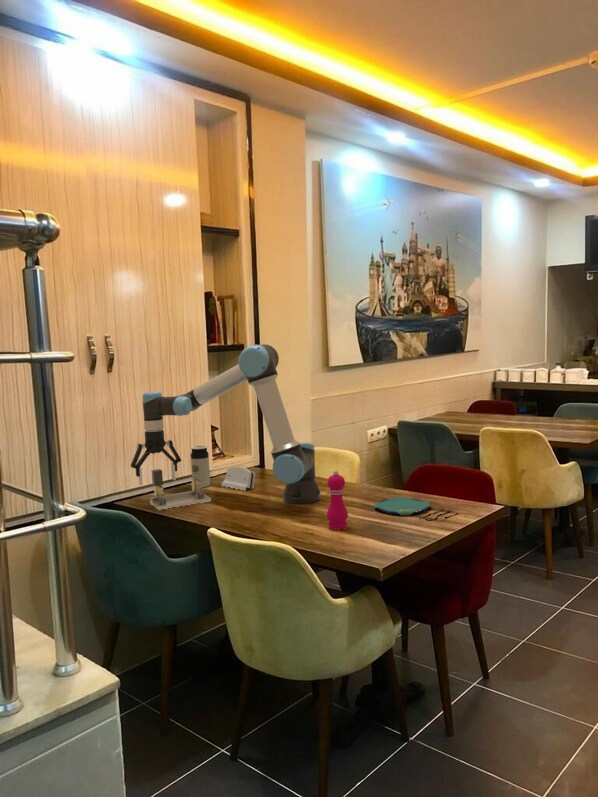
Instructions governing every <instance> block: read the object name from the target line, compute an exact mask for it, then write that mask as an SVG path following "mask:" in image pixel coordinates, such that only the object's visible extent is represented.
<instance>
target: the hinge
mask: <svg viewBox="0 0 598 797" xmlns="http://www.w3.org/2000/svg"><path fill="white" fill-rule="evenodd" d="M255 480H256V473H255V472H254V471H253V470H251V469H249V468H247V467H243V466H232V467H229V468H228V469H227V470H226V475H225V478H224V480H223V481H222V482H221V487H224V486H225V487H224V488H228V487H230V488H229V489H233V488H235V489H234V490H238V489H240V490H239V491H243V490H244V492H245V491H247V489H252V490H254V489H253V488H255Z"/></svg>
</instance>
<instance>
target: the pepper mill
mask: <svg viewBox="0 0 598 797" xmlns="http://www.w3.org/2000/svg"><path fill="white" fill-rule="evenodd" d="M332 474H333V475H330V476H329V477H328V478H327V483H326V484H327V487H328V488H329V489H328V491H329V492H328V493H329V494H330V503H329V506H328V508H327V510H326V519H328V521H329V522H328V528H330V530H331V529H336V530H335V531H339V530H338V529H343V530H345V529H344V528H346V527H347V528H348V524H347V523H348V522H347V521H346V520H347V519H348V518H349V515H348V509H347V507H346V505H345V504H344V499H343V494H344V493H345V489H344V487H345V485H346V481H345V478H344V476H342V475H341V474H339V471H338V470H336V469H334V471H333V473H332ZM347 528H346V529H347Z"/></svg>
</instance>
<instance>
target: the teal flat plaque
mask: <svg viewBox="0 0 598 797" xmlns="http://www.w3.org/2000/svg"><path fill="white" fill-rule="evenodd" d="M430 506H431V507H432V505H431V503H430V502H429V501H425V500H422V499H419V498H418V499H417V498H412V497H407V496H406V497H404V496H402V497H399V496H398V497H396V496H395V497H391V498H390V497H389V498H386V499H382V500H380V501H377V502H375V503H374V505H373V508H374V510H376V509H378V510H379V511H380V512H384V513H387V514H388V513H389V514H395V515H399V516H402V515H401V514H411V515H412V514H413V513H414V514H418V513H422V511H423V512H425V511H427V510H428V509H430ZM400 509H402V510H406V509H407V510H408V509H409V511H400V512H399V510H400ZM410 509H412V510H410ZM413 509H414V510H413ZM419 510H421V511H419ZM389 511H391V512H389ZM415 511H418V512H415ZM397 512H398V513H397Z"/></svg>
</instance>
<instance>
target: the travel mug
mask: <svg viewBox="0 0 598 797" xmlns="http://www.w3.org/2000/svg"><path fill="white" fill-rule="evenodd" d="M208 447H209V446H208V445H205V444H204V445H203V444H202V445H201V444H199V445H193V446H191V447H190V449H191V453H190V466H191V468H190V470H191V480H192V479H195V478H198V479H199V481H201V482H202V484H201V488H207V487H210V485H211V477H210V476H211V475H210V474H211V473H210V457H209V456H210V454H209V452H208Z"/></svg>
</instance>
